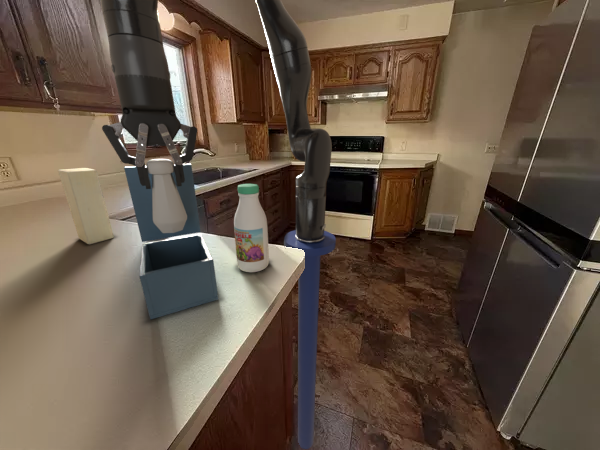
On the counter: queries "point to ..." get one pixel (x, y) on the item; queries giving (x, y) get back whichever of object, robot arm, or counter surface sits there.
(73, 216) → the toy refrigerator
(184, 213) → the salt shaker
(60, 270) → the counter surface
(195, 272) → the box
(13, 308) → the counter surface
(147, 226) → the freezer lid
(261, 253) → the milk bottle
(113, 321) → the counter surface
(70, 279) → the counter surface
